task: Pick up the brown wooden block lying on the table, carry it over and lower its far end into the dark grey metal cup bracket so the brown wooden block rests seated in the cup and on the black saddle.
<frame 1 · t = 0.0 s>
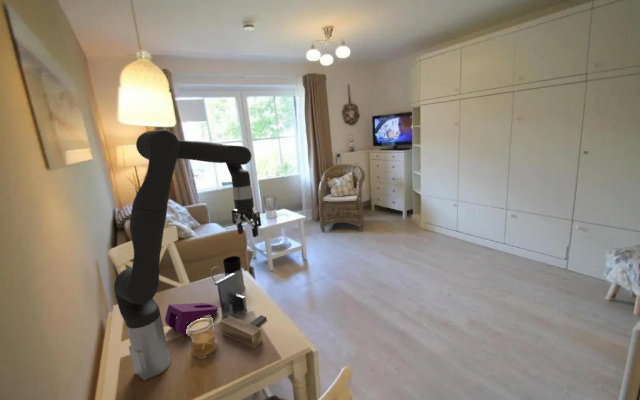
hand: (248, 235, 127), 29 cm above the table, fingers open, 8 cm apart
mounting bracket: (196, 321, 121), on the table
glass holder: (230, 291, 142), on the table
brown wooden block: (242, 337, 109), on the table
far saddle: (258, 322, 117), on the table
cup bracket: (235, 313, 124), on the table
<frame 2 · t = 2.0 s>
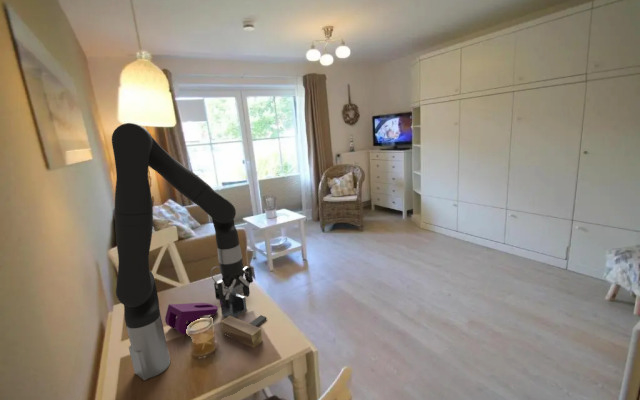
hand: (237, 301, 106), 14 cm above the table, fingers open, 8 cm apart
nothing on the table moved.
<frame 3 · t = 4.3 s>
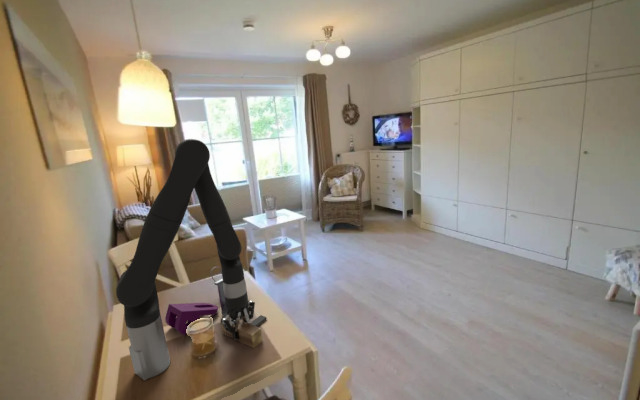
hand: (241, 335, 109), 1 cm above the table, fingers closed on brown wooden block, 4 cm apart
brown wooden block: (242, 337, 109), on the table, touching gripper
everything else where it was.
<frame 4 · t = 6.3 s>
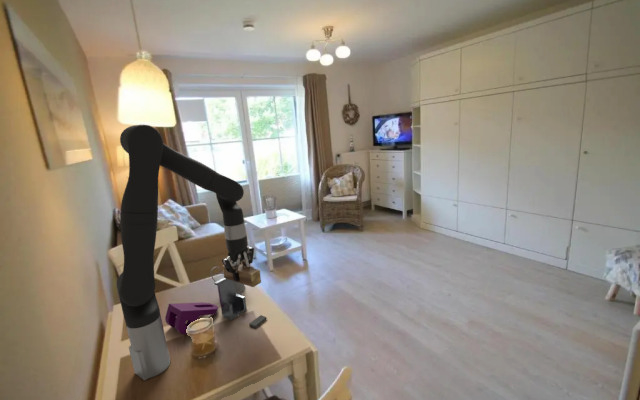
hand: (241, 278, 116), 17 cm above the table, fingers closed on brown wooden block, 4 cm apart
brown wooden block: (242, 280, 116), point 16 cm above the table, touching gripper
everything else where it was.
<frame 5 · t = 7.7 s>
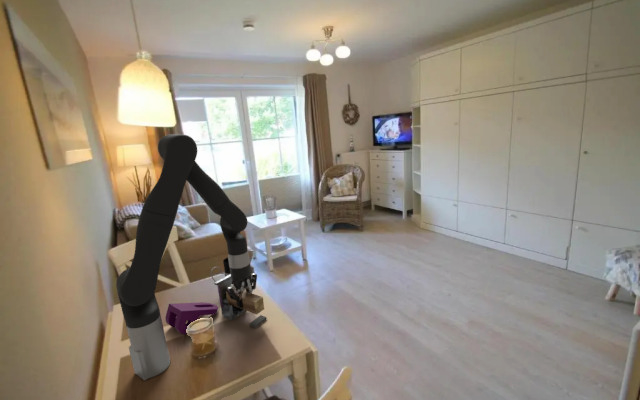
hand: (245, 304, 119), 6 cm above the table, fingers closed on brown wooden block, 4 cm apart
brown wooden block: (245, 306, 119), point 5 cm above the table, touching gripper
everything else where it was.
when the fingers open (3 cm above the table, at t = 8.6 s): brown wooden block drops 1 cm, resting on cup bracket, far saddle.
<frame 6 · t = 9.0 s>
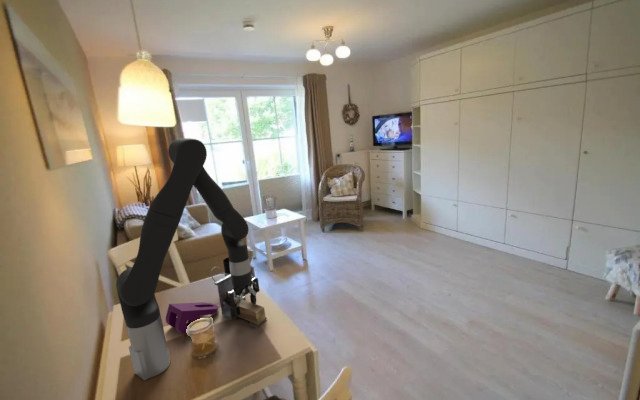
hand: (246, 309, 119), 4 cm above the table, fingers open, 7 cm apart
brown wooden block: (247, 315, 120), point 1 cm above the table, touching cup bracket, far saddle
everything else where it was.
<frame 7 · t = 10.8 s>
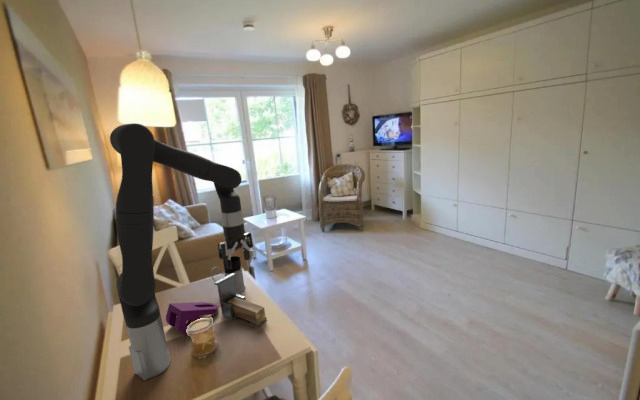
hand: (238, 263, 116), 22 cm above the table, fingers open, 8 cm apart
nothing on the table moved.
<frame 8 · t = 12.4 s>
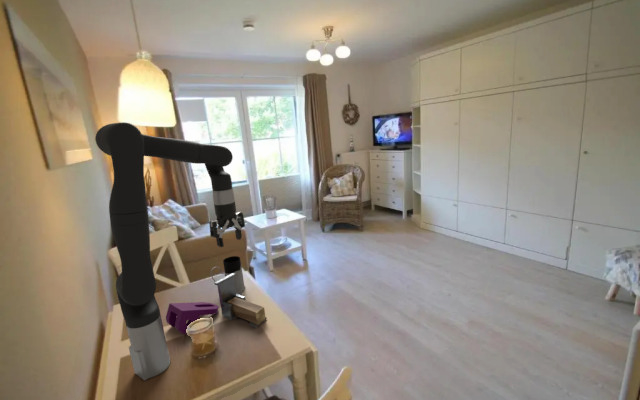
hand: (230, 242, 117), 30 cm above the table, fingers open, 8 cm apart
nothing on the table moved.
at the end: brown wooden block 0.2 cm from the target spot on the table beside the cup bracket, point 1.0 cm above the table; brown wooden block tilted 0°; the gripper is holding nothing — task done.
